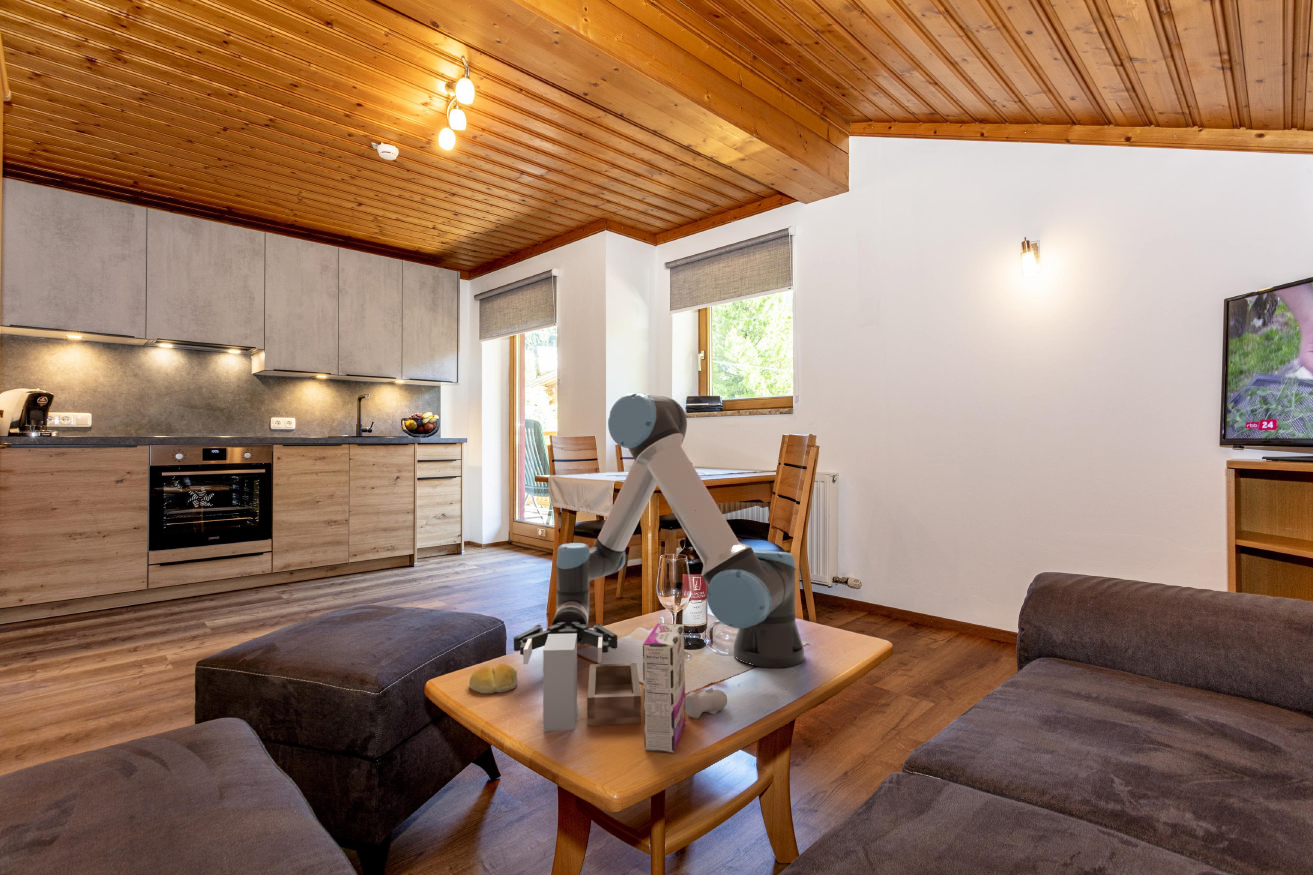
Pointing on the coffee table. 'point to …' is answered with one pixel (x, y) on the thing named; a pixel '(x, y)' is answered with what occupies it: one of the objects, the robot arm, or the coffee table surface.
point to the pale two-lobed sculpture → (705, 702)
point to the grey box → (560, 682)
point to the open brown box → (613, 694)
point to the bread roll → (494, 679)
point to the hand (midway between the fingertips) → (562, 655)
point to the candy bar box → (664, 687)
